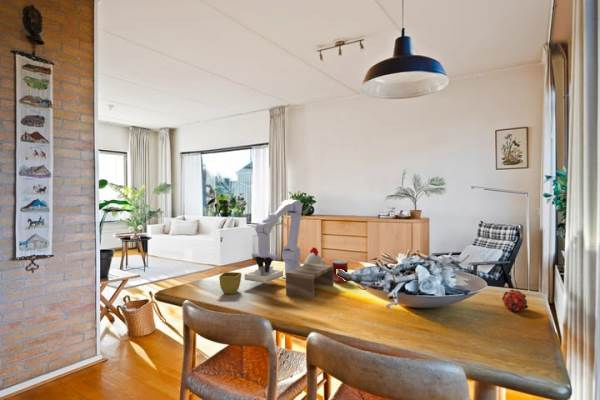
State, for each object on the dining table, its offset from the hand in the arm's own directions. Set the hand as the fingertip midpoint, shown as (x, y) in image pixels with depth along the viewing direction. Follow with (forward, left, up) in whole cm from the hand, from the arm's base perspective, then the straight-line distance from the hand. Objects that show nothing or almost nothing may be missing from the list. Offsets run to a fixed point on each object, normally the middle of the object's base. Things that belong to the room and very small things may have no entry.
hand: (264, 271), depth 176 cm
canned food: (-25, +32, -8) cm, 41 cm away
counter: (-4, +25, -7) cm, 26 cm away
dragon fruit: (-16, +111, -8) cm, 112 cm away
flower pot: (+17, -8, -8) cm, 20 cm away
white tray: (0, 0, -3) cm, 3 cm away
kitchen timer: (-38, +10, -8) cm, 40 cm away
